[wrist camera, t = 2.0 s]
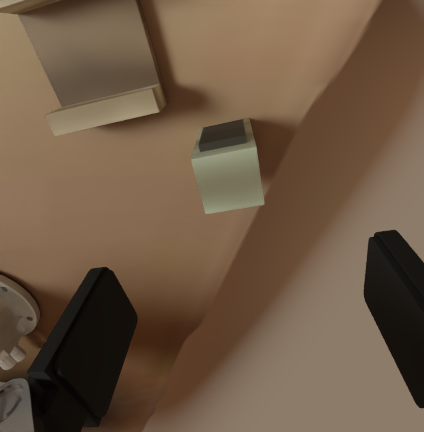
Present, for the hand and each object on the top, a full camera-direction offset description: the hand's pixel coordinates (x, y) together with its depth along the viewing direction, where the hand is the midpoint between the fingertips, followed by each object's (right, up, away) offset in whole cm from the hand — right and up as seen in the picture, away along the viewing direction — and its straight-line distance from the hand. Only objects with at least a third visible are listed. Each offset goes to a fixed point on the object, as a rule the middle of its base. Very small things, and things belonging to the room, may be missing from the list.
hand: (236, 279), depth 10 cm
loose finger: (0, +8, +13) cm, 16 cm away
